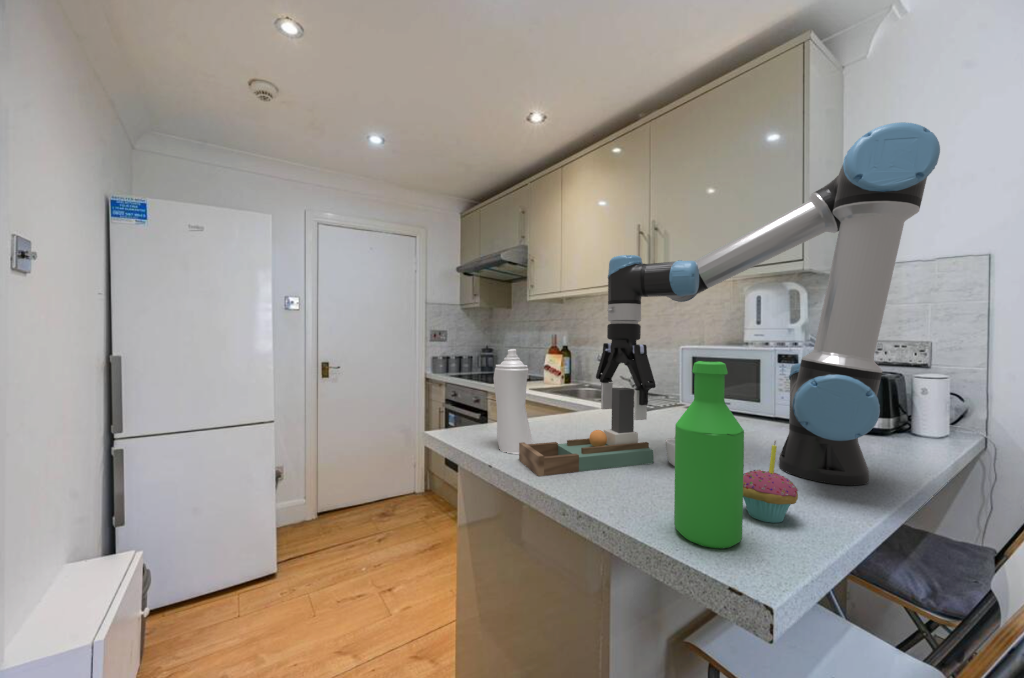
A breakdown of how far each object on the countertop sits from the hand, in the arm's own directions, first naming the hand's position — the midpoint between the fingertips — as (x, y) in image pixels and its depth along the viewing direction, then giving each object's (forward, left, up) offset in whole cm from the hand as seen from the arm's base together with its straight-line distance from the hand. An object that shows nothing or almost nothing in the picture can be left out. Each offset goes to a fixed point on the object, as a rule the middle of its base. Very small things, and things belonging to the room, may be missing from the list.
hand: (622, 414), depth 96 cm
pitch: (0, +5, -10) cm, 11 cm away
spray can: (+16, +21, -11) cm, 29 cm away
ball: (0, +6, -5) cm, 8 cm away
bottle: (-36, +10, -11) cm, 39 cm away
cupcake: (-34, -4, -11) cm, 36 cm away
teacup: (-10, -11, -11) cm, 18 cm away
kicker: (0, 0, -7) cm, 7 cm away
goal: (0, +18, -10) cm, 21 cm away
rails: (0, +4, -7) cm, 8 cm away
